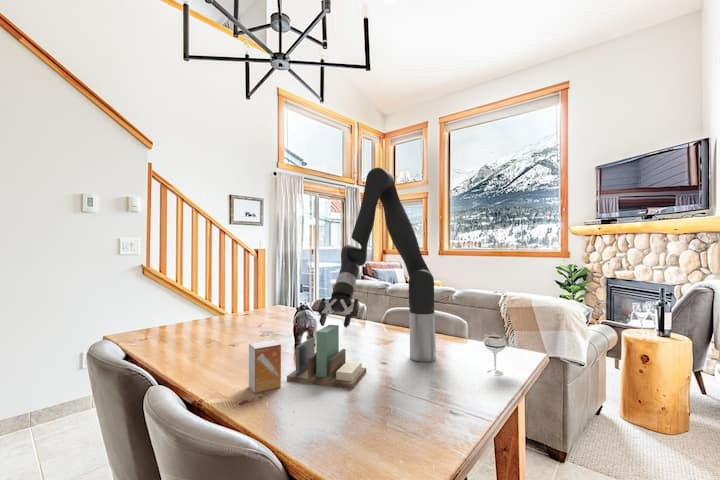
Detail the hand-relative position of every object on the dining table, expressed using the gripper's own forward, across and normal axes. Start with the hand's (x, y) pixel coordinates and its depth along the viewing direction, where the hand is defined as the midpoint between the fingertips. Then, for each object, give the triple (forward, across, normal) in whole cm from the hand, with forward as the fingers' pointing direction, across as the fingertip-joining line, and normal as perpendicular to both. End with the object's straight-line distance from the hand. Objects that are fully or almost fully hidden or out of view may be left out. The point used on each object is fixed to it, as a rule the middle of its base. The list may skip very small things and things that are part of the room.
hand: (333, 325), depth 116 cm
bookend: (+13, -8, +7) cm, 17 cm away
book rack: (+14, 0, +8) cm, 16 cm away
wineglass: (+2, +52, +22) cm, 56 cm away
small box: (+24, -16, -1) cm, 28 cm away
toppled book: (+13, +7, +7) cm, 16 cm away
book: (+13, 0, +7) cm, 15 cm away
